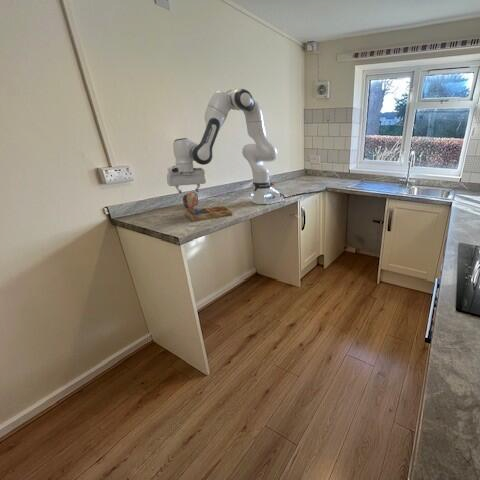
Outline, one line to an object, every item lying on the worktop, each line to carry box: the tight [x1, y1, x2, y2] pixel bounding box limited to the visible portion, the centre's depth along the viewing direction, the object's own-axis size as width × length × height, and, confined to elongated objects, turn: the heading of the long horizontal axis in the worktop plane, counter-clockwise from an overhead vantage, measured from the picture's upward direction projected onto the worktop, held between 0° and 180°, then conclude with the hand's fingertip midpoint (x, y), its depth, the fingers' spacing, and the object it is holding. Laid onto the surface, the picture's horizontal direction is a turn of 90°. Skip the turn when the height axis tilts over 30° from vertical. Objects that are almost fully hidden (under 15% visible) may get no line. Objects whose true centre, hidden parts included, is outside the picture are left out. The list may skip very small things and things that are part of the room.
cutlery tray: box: [184, 205, 233, 222], centre depth 151 cm, size 22×14×3 cm, turn 129°
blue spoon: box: [194, 207, 203, 215], centre depth 148 cm, size 10×4×3 cm, turn 38°
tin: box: [182, 191, 199, 209], centre depth 168 cm, size 15×3×8 cm, turn 179°
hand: (188, 192), depth 153 cm, fingers open, 8 cm apart
